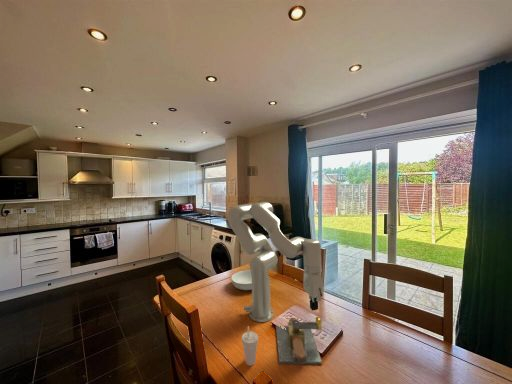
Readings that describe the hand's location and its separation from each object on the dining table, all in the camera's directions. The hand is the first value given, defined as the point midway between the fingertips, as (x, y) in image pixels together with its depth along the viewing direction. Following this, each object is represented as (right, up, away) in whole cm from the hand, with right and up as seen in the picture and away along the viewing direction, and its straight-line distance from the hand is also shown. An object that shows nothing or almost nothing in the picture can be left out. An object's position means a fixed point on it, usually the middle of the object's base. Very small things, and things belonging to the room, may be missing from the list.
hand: (314, 309), depth 92 cm
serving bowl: (-32, -12, +48) cm, 59 cm away
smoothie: (-28, -14, -12) cm, 33 cm away
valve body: (-9, -13, -4) cm, 16 cm away
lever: (-4, -7, -4) cm, 9 cm away
